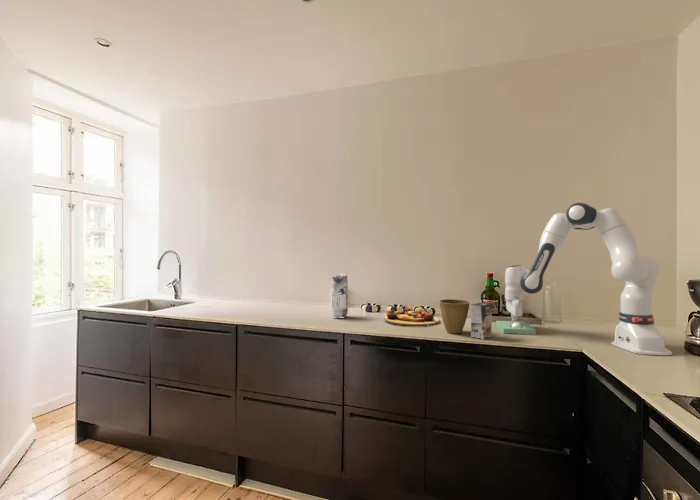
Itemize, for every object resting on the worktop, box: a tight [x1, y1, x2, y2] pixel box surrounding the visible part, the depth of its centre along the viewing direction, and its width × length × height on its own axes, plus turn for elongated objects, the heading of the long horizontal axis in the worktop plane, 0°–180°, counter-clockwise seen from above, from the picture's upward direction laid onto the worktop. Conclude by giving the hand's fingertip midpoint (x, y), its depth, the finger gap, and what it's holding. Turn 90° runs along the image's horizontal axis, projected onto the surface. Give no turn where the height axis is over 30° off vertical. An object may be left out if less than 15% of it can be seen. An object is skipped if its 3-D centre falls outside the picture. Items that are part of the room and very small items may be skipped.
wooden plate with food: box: [383, 305, 441, 327], centre depth 227 cm, size 32×32×8 cm
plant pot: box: [438, 298, 470, 334], centre depth 198 cm, size 15×15×16 cm
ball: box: [512, 323, 521, 328], centre depth 198 cm, size 4×4×4 cm
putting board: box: [495, 320, 537, 335], centre depth 203 cm, size 20×15×2 cm
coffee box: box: [470, 302, 493, 339], centre depth 188 cm, size 9×6×16 cm
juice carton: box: [331, 273, 349, 318], centre depth 240 cm, size 9×10×27 cm
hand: (514, 322), depth 205 cm, fingers closed
